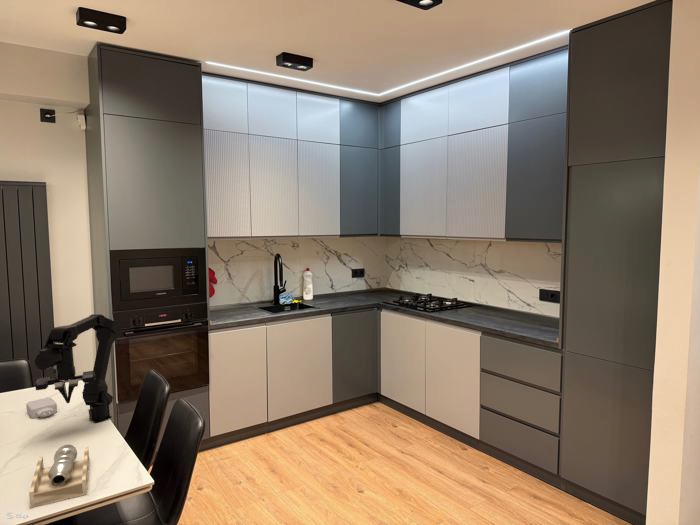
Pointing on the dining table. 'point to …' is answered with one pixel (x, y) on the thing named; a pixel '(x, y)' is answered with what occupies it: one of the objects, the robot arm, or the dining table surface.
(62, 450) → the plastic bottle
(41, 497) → the tray
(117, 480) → the dining table surface
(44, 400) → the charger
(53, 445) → the dining table surface
